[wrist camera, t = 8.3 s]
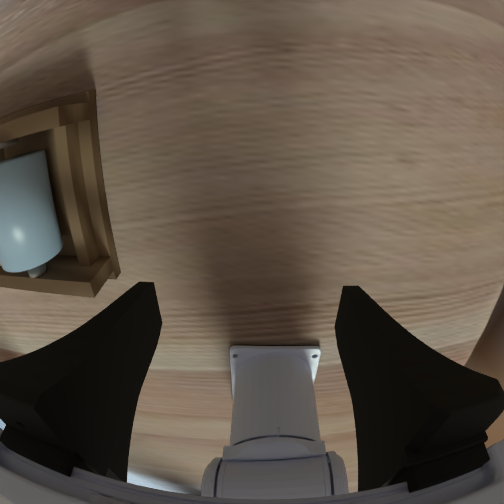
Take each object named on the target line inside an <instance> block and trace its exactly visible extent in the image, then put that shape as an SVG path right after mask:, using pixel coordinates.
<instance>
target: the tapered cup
mask: <svg viewBox="0 0 504 504" xmlns="http://www.w3.org/2000/svg"><path fill="white" fill-rule="evenodd" d="M62 247H63V240H62V236H61V232H60V228H59V224H58V220H57V215H56V211H55V206H54V201H53V196H52V191H51V185H50V179H49V173H48V167H47V160H46V153H45V149H40V150H35V151H30V152H26V153H23V154H19V155H16V156H13V157H10V158H7V159H4V160H1V161H0V263H1V266H2V268H3V270H5V271H7V272H22V271H26V270H30V269H32V268H35V267H37V266H40V265H42V264H44V263H45V262H47V261H49V260H50V259H52V258H53V257H54V256H56V255H57V254H58V253H59V252H60V250H61V249H62Z"/></svg>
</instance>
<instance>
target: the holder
mask: <svg viewBox="0 0 504 504" xmlns="http://www.w3.org/2000/svg"><path fill="white" fill-rule="evenodd" d="M40 149H45V153H46V160H47V167H48V173H49V179H50V185H51V191H52V196H53V201H54V206H55V211H56V215H57V220H58V224H59V228H60V232H61V236H62V240H63V247H62V249H61V250H60V252H59V253H58V254H57V255H56V256H54V257H53V258H52V259H50V260H49V261H47V262H45V263H44V264H42V265H40V266H37V267H35V268H32V269H30V270H26V271H22V272H7V271H5V270H3V268H2V266H0V287H6V288H13V289H21V290H28V291H37V292H45V293H54V294H63V295H73V296H83V297H94V298H95V296H96V295H97V293H98V292H99V291H100V289H101V288H102V286H103V285H104V283H105V282H106V281H107V279H117V277H118V276H119V274H120V273H121V272H120V267H119V263H118V258H117V254H116V249H115V245H114V240H113V235H112V230H111V224H110V219H109V213H108V207H107V201H106V195H105V188H104V181H103V174H102V166H101V157H100V148H99V138H98V126H97V111H96V90H91V91H85V92H80V93H76V94H72V95H69V96H65V97H61V98H58V99H54V100H51V101H47V102H44V103H41V104H38V105H35V106H32V107H29V108H26V109H23V110H20V111H17V112H14V113H12V114H9V115H6V116H4V117H1V118H0V161H1V160H4V159H7V158H10V157H13V156H16V155H19V154H23V153H26V152H30V151H35V150H40Z"/></svg>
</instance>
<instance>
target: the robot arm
mask: <svg viewBox="0 0 504 504" xmlns="http://www.w3.org/2000/svg"><path fill="white" fill-rule="evenodd" d="M161 327H162V319H161V315H160V310H159V305H158V301H157V296H156V291H155V286H154V282H138V283H137V284H136V285H134V286H133V287H132V288H130V289H129V290H128V291H126V292H125V293H124V294H123V295H122V296H120V297H119V298H118V299H117V300H115V301H114V302H113V303H112V304H110V305H109V306H108V307H107V308H105V309H104V310H103V311H101V312H100V313H99V314H97V315H96V316H95V317H93V318H92V319H90V320H89V321H88V322H86V323H85V324H83V325H82V326H80V327H79V328H77V329H76V330H74V331H73V332H71V333H69V334H68V335H66V336H64V337H62V338H60V339H59V340H57V341H55V342H53V343H51V344H49V345H47V346H45V347H43V348H40V349H38V350H36V351H33V352H31V353H28V354H26V355H23V356H20V357H17V358H14V359H11V360H7V361H4V362H0V419H1V420H2V421H3V422H4V423H5V424H6V426H5V428H4V430H2V429H1V428H0V496H1V497H3V498H4V499H6V500H7V501H9V502H11V503H12V504H504V439H503V440H501V441H499V442H497V443H495V444H493V445H492V446H490V447H489V448H487V449H486V447H485V444H484V442H486V441H487V440H488V436H487V434H486V432H485V430H487V429H488V428H489V426H490V425H491V424H492V423H493V422H494V421H495V420H496V419H497V418H498V417H499V415H500V414H501V413H502V412H503V410H504V391H503V389H502V387H501V385H500V383H499V381H498V380H497V379H495V378H492V377H489V376H486V375H484V374H481V373H478V372H475V371H473V370H470V369H469V368H466V367H464V366H462V365H460V364H458V363H456V362H454V361H452V360H450V359H449V358H447V357H445V356H443V355H442V354H440V353H438V352H437V351H435V350H433V349H432V348H430V347H429V346H427V345H426V344H425V343H423V342H422V341H420V340H419V339H417V338H416V337H415V336H413V335H412V334H411V333H410V332H408V331H407V330H406V329H405V328H404V327H402V326H401V325H400V324H399V323H398V322H396V321H395V320H394V319H393V318H392V317H391V316H390V315H389V314H388V313H387V312H385V311H384V310H383V309H382V308H381V307H380V306H379V305H378V304H377V303H376V302H375V301H374V300H373V299H372V298H371V297H370V296H369V295H368V294H367V293H366V292H365V291H363V290H362V289H361V288H360V287H359V286H343V289H342V294H341V299H340V304H339V309H338V313H337V318H336V323H335V333H336V340H337V346H338V351H339V355H340V358H341V362H342V365H343V369H344V373H345V376H346V380H347V383H348V387H349V391H350V394H351V399H352V404H353V411H354V419H355V427H356V438H357V452H358V492H354V493H349V492H348V480H347V473H346V468H345V464H344V461H343V459H342V458H341V457H340V456H339V455H337V454H336V452H334V451H329V452H326V450H325V442H324V441H321V440H320V431H319V423H318V415H317V407H316V400H315V392H314V385H313V384H314V380H315V376H316V372H317V368H318V363H319V359H320V354H321V348H320V347H319V346H231V347H230V366H231V380H232V393H233V411H232V423H231V435H230V446H224V448H223V458H221V457H216V458H214V459H213V460H212V461H211V463H210V464H208V465H207V467H206V469H205V471H204V474H203V478H202V485H201V496H197V495H189V494H182V493H175V492H169V491H163V490H158V489H153V488H148V487H143V486H139V485H134V484H130V483H127V469H128V456H129V447H130V439H131V433H132V427H133V421H134V416H135V411H136V406H137V402H138V397H139V394H140V391H141V388H142V385H143V382H144V379H145V377H146V374H147V371H148V368H149V366H150V363H151V360H152V358H153V355H154V352H155V350H156V347H157V344H158V340H159V336H160V331H161ZM234 354H237V355H234ZM314 354H316V355H314Z"/></svg>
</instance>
